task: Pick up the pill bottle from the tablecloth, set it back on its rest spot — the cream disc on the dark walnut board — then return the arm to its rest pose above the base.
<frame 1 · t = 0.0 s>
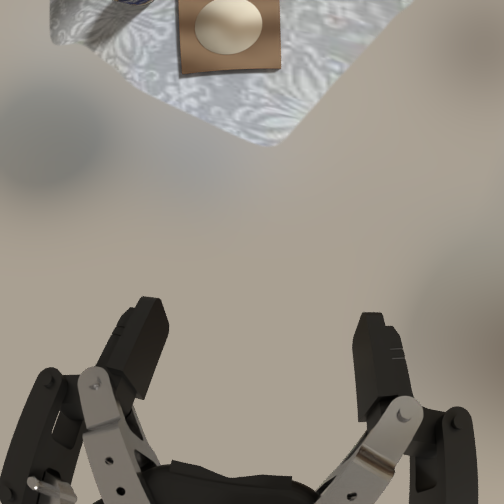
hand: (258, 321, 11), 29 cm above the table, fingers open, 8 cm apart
rest board: (229, 25, 26), on the table
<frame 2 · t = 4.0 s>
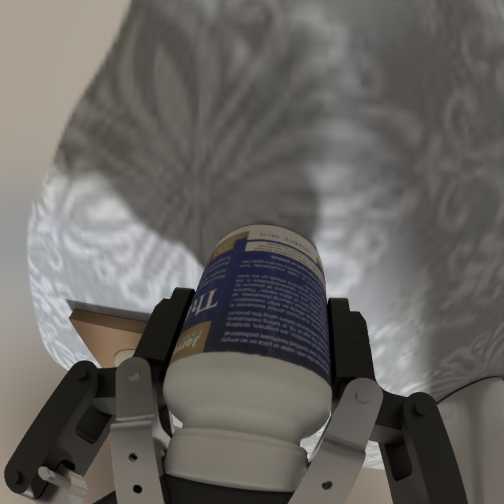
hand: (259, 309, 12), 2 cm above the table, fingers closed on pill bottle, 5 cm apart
rest board: (164, 369, 21), on the table
pill bottle: (266, 267, 14), on the table, touching gripper
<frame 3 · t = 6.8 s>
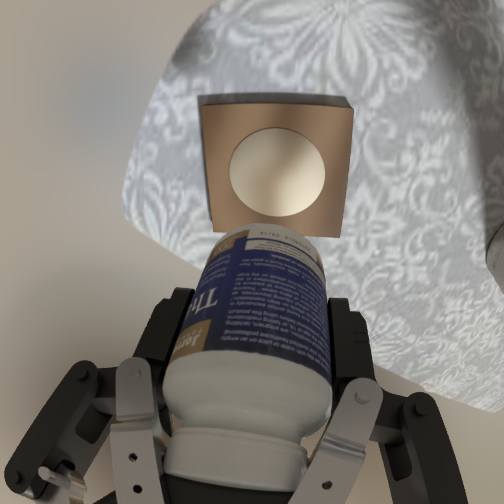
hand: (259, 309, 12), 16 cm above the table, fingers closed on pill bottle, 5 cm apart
rest board: (277, 170, 24), on the table
pill bottle: (266, 266, 14), point 13 cm above the table, touching gripper
when the fingers open (5 cm above the table, at t = 9.5 s): pill bottle drops 1 cm, resting on rest board.
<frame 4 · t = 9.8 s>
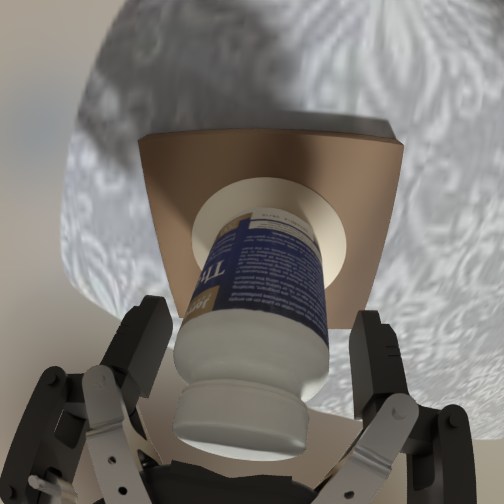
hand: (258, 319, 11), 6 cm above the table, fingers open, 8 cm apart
rest board: (269, 239, 16), on the table
pill bottle: (267, 248, 15), point 1 cm above the table, touching rest board
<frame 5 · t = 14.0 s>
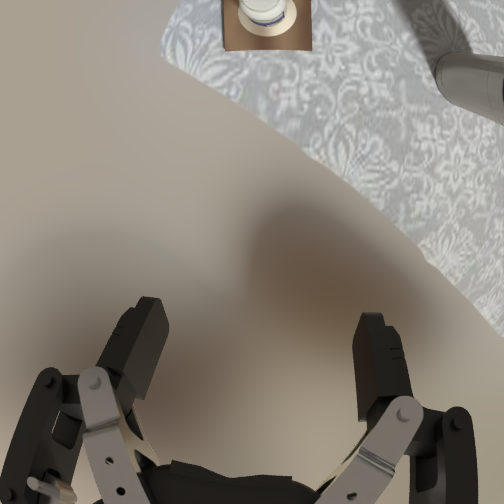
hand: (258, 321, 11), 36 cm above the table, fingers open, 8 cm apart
rest board: (267, 13, 30), on the table
pill bottle: (266, 11, 29), point 1 cm above the table, touching rest board
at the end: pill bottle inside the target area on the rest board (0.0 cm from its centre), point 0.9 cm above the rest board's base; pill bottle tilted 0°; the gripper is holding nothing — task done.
